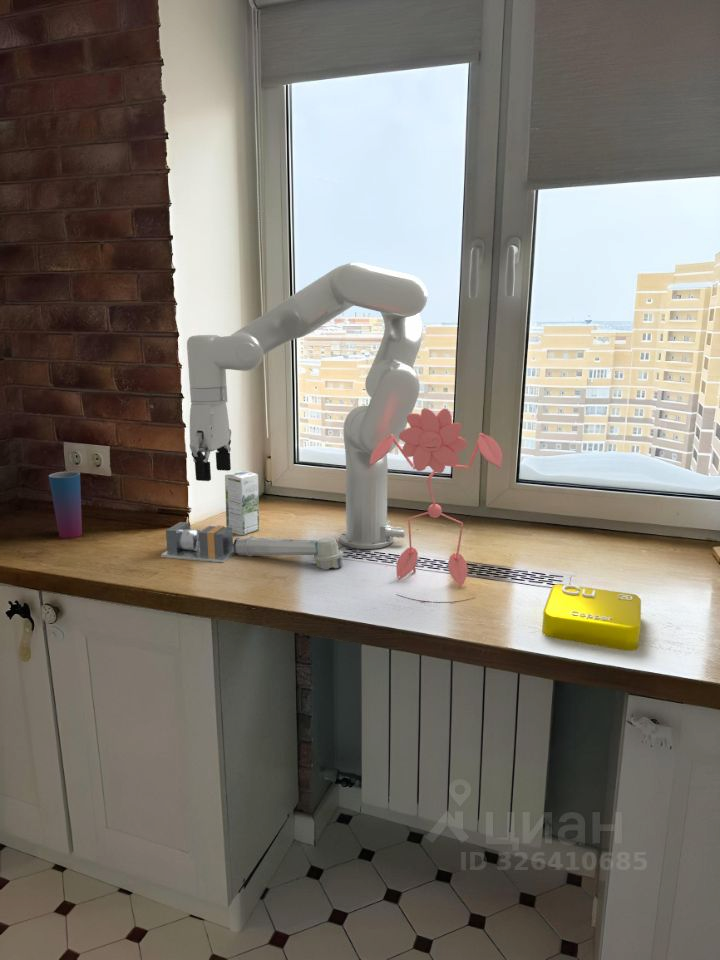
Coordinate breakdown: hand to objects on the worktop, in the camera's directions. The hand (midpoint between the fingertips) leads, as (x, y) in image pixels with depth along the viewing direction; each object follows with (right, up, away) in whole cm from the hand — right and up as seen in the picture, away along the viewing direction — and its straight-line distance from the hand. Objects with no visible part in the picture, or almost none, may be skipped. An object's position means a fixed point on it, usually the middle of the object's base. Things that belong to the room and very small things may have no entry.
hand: (214, 475), depth 145 cm
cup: (-38, -15, +17) cm, 44 cm away
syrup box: (+3, -14, +20) cm, 25 cm away
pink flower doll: (+45, -22, -14) cm, 52 cm away
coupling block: (0, -17, +4) cm, 17 cm away
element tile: (+71, -26, -30) cm, 81 cm away
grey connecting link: (+16, -19, +1) cm, 25 cm away
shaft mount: (-4, -17, +5) cm, 18 cm away
